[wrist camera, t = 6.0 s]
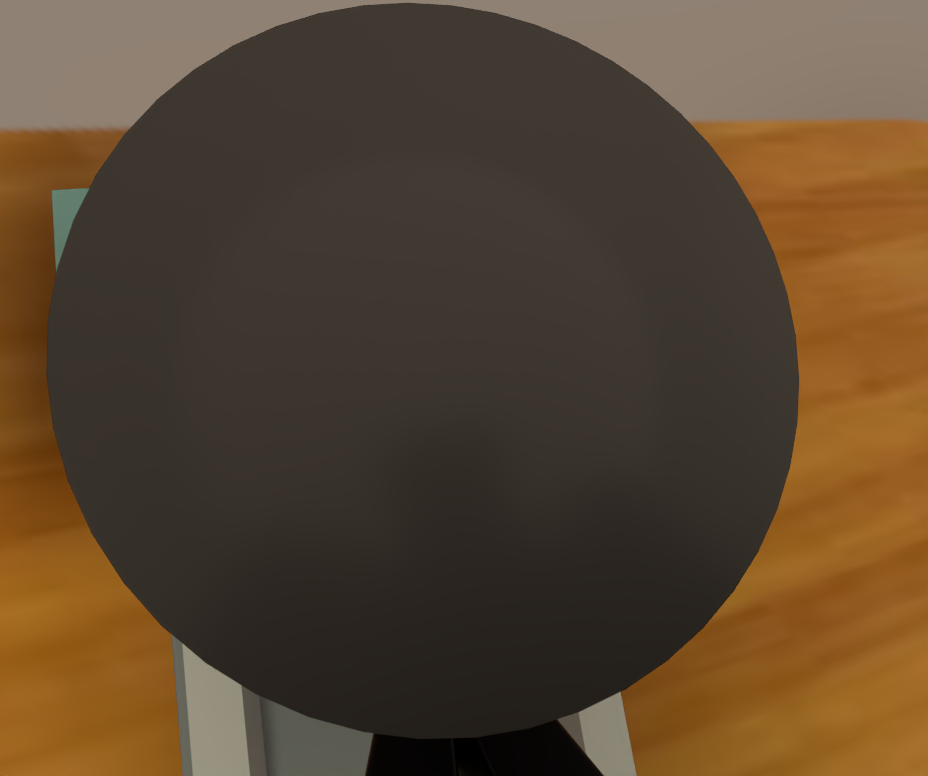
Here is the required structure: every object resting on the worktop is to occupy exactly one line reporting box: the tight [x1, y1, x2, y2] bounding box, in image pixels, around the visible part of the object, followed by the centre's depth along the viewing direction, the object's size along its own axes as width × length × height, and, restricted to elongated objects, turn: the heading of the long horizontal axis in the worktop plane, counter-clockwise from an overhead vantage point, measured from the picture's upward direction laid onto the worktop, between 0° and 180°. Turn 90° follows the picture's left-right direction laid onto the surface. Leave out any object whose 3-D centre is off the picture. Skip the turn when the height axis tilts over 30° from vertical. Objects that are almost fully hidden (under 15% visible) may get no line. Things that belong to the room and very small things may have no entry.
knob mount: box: [52, 188, 637, 776], centre depth 13 cm, size 13×10×6 cm
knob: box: [47, 3, 799, 739], centre depth 10 cm, size 5×5×11 cm
